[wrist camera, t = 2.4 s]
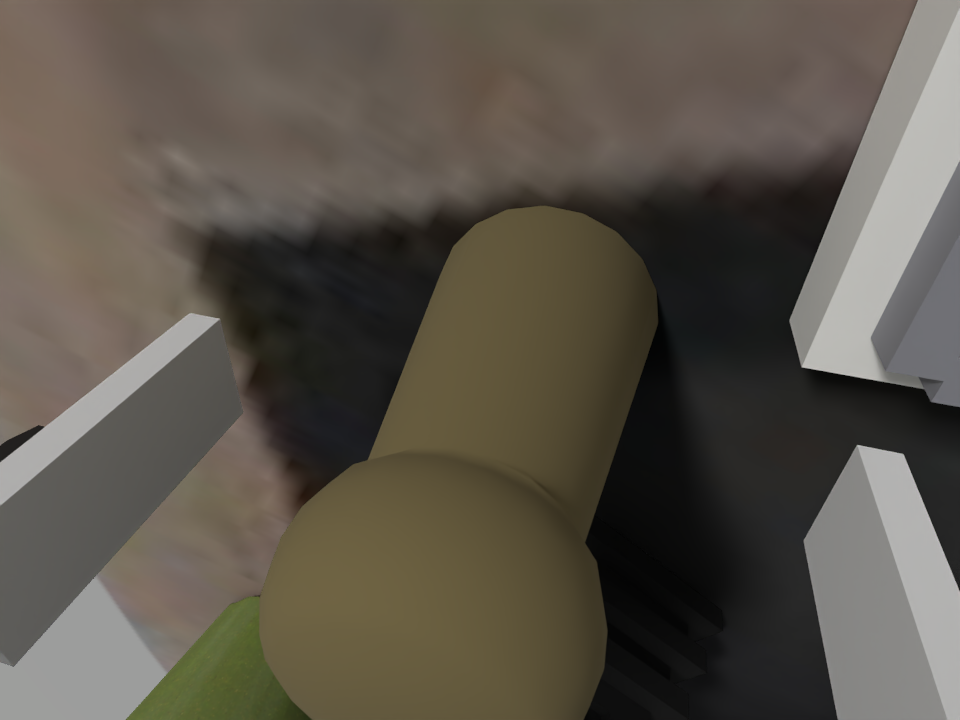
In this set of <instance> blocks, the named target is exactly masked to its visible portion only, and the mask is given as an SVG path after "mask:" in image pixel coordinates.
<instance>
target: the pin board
mask: <svg viewBox="0 0 960 720" xmlns="http://www.w3.org/2000/svg"><path fill="white" fill-rule="evenodd" d="M789 321H790V325H791V328H792V332H793V336H794V340H795V344H796V348H797V351H798V355H799V359H800V363H801V367H803V368H809V369H814V370H820V371H826V372H831V373H837V374H842V375H848V376H854V377H859V378H865V379H870V380H876V381H882V382H887V383H893V384H899V385H904V386H910V387H915V388H921V389H925V391H926V393H927V395H928V397H929V399H930V401H931V402H935V403H940V404H946V405H951V406H957V407H960V0H918V2H917V4H916V7H915V9H914V12H913V14H912V17H911V19H910V22H909V24H908V27H907V29H906V32H905V34H904V37H903V39H902V42H901V44H900V47H899V49H898V52H897V54H896V56H895V59H894V61H893V64H892V66H891V69H890V71H889V74H888V76H887V79H886V81H885V84H884V86H883V89H882V91H881V94H880V96H879V99H878V101H877V104H876V106H875V109H874V111H873V114H872V116H871V119H870V121H869V124H868V126H867V129H866V131H865V134H864V136H863V139H862V141H861V144H860V146H859V149H858V151H857V154H856V156H855V159H854V161H853V164H852V166H851V168H850V171H849V173H848V176H847V178H846V181H845V183H844V186H843V188H842V191H841V193H840V196H839V198H838V201H837V203H836V206H835V208H834V211H833V213H832V216H831V218H830V221H829V223H828V226H827V228H826V231H825V233H824V236H823V238H822V241H821V243H820V246H819V248H818V251H817V253H816V256H815V258H814V261H813V263H812V266H811V268H810V271H809V273H808V275H807V278H806V280H805V283H804V285H803V288H802V290H801V293H800V295H799V298H798V300H797V303H796V305H795V308H794V310H793V313H792V315H791V318H790V320H789Z"/></svg>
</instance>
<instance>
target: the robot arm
mask: <svg viewBox="0 0 960 720" xmlns="http://www.w3.org/2000/svg"><path fill="white" fill-rule="evenodd" d="M242 413H243V409H242V405H241V401H240V397H239V393H238V389H237V385H236V381H235V377H234V373H233V369H232V365H231V361H230V357H229V353H228V349H227V345H226V341H225V337H224V333H223V329H222V325H221V321H220V319H218V318H213V317H207V316H202V315H197V314H192V313H189V314H188V315H187V316H186V317H184V318H183V319H182V320H180V321H179V322H178V323H177V324H175V325H174V326H173V327H172V328H170V329H169V330H168V331H166V332H165V333H164V334H163V335H161V336H160V337H159V338H158V339H156V340H155V341H154V342H152V343H151V344H150V345H149V346H147V347H146V348H145V349H144V350H142V351H141V352H140V353H138V354H137V355H136V356H135V357H133V358H132V359H131V360H130V361H128V362H127V363H126V364H125V365H123V366H122V367H121V368H119V369H118V370H117V371H116V372H114V373H113V374H112V375H111V376H109V377H108V378H107V379H105V380H104V381H103V382H102V383H100V384H99V385H98V386H97V387H95V388H94V389H93V390H91V391H90V392H89V393H88V394H86V395H85V396H84V397H83V398H81V399H80V400H79V401H77V402H76V403H75V404H74V405H72V406H71V407H70V408H69V409H67V410H66V411H65V412H64V413H62V414H61V415H60V416H58V417H57V418H56V419H55V420H53V421H52V422H51V423H50V424H48V425H47V426H46V427H43V426H39V425H38V426H36V427H34V428H32V429H30V430H28V431H26V432H24V433H22V434H20V435H18V436H16V437H13V438H11V439H9V440H7V441H6V442H4V443H3V444H2V445H0V662H1V663H4V664H7V665H10V666H13V667H14V666H15V665H16V664H17V662H18V661H19V660H20V659H21V658H22V657H23V656H24V655H25V654H26V652H27V651H28V650H29V649H30V648H31V647H32V646H33V645H34V643H35V642H36V641H37V640H38V639H39V638H40V637H41V636H42V635H43V633H44V632H45V631H46V630H47V629H48V628H49V627H50V626H51V625H52V624H53V622H54V621H55V620H56V619H57V618H58V617H59V616H60V615H61V614H62V613H63V611H64V610H65V609H66V608H67V607H68V606H69V605H70V604H71V603H72V602H73V600H74V599H75V598H76V597H77V596H78V595H79V594H80V593H81V592H82V590H83V589H84V588H85V587H86V586H87V585H88V584H89V583H90V582H91V580H92V579H93V578H94V577H95V576H96V575H97V574H98V573H99V572H100V571H101V569H102V568H103V567H104V566H105V565H106V564H107V563H108V562H109V561H110V559H111V558H112V557H113V556H114V555H115V554H116V553H117V552H118V551H119V550H120V548H121V547H122V546H123V545H124V544H125V543H126V542H127V541H128V540H129V538H130V537H131V536H132V535H133V534H134V533H135V532H136V531H137V530H138V528H139V527H140V526H141V525H142V524H143V523H144V522H145V521H146V520H147V519H148V517H149V516H150V515H151V514H152V513H153V512H154V511H155V510H156V509H157V507H158V506H159V505H160V504H161V503H162V502H163V501H164V500H165V499H166V497H167V496H168V495H169V494H170V493H171V492H172V491H173V490H174V489H175V488H176V486H177V485H178V484H179V483H180V482H181V481H182V480H183V479H184V478H185V476H186V475H187V474H188V473H189V472H190V471H191V470H192V469H193V468H194V467H195V465H196V464H197V463H198V462H199V461H200V460H201V459H202V458H203V457H204V455H205V454H206V453H207V452H208V451H209V450H210V449H211V448H212V447H213V445H214V444H215V443H216V442H217V441H218V440H219V439H220V438H221V437H222V436H223V434H224V433H225V432H226V431H227V430H228V429H229V428H230V427H231V426H232V424H233V423H234V422H235V421H236V420H237V419H238V418H239V417H240V416H241V414H242ZM804 545H805V551H806V556H807V561H808V566H809V572H810V577H811V582H812V587H813V592H814V598H815V603H816V608H817V613H818V619H819V624H820V629H821V634H822V640H823V645H824V650H825V655H826V660H827V666H828V671H829V676H830V681H831V687H832V692H833V697H834V702H835V707H836V713H837V718H838V720H960V591H959V589H958V586H957V584H956V581H955V579H954V577H953V574H952V572H951V569H950V567H949V564H948V562H947V560H946V557H945V555H944V552H943V550H942V547H941V545H940V542H939V540H938V538H937V535H936V533H935V530H934V528H933V525H932V523H931V521H930V518H929V516H928V513H927V511H926V508H925V506H924V503H923V501H922V499H921V496H920V494H919V491H918V489H917V486H916V484H915V481H914V479H913V477H912V474H911V472H910V469H909V467H908V464H907V462H906V460H905V457H904V455H903V454H900V453H895V452H890V451H885V450H880V449H875V448H870V447H865V446H860V445H857V446H856V448H855V450H854V452H853V453H852V455H851V457H850V459H849V460H848V462H847V464H846V466H845V468H844V469H843V471H842V473H841V475H840V477H839V478H838V480H837V482H836V484H835V486H834V487H833V489H832V491H831V493H830V494H829V496H828V498H827V500H826V502H825V503H824V505H823V507H822V509H821V511H820V512H819V514H818V516H817V518H816V520H815V521H814V523H813V525H812V527H811V528H810V530H809V532H808V534H807V536H806V537H805V539H804Z"/></svg>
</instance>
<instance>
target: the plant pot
mask: <svg viewBox="0 0 960 720" xmlns="http://www.w3.org/2000/svg"><path fill="white" fill-rule="evenodd" d="M259 598H260V597H247V598H245V599H243V600H241V601H239V602H236V603H232V604H230V605H229V606H228V607H227V608H226V609H225V610H224V611H223V612H222V614H221V615H220V616H219V617H218V618H217V619H216V620H215V621H214V622H213V623H212V625H211V626H210V627H209V628H208V629H207V630H206V631H205V632H204V634H203V635H202V636H201V637H200V638H199V639H198V640H197V641H196V642H195V643H194V645H193V646H192V647H191V648H190V649H189V650H188V651H187V652H186V654H185V655H184V656H183V657H182V658H181V659H180V660H179V661H178V662H177V664H176V665H175V666H174V667H173V668H172V669H171V670H170V671H169V672H168V674H167V675H166V676H165V677H164V678H163V679H162V680H161V681H160V682H159V684H158V685H157V686H156V687H155V688H154V689H153V690H152V691H151V693H150V694H149V695H148V696H147V697H146V698H145V699H144V700H143V701H142V703H141V704H140V705H139V706H138V707H137V708H136V709H135V710H134V711H133V712H132V713H131V714H130V716H129V717H128V718H127V719H126V720H312V719H311V718H310V717H309V716H308V715H307V714H305V713H304V712H303V711H302V710H301V709H300V708H299V707H298V706H297V705H296V704H295V703H294V702H292V701H291V699H290V698H289V696H288V695H287V693H286V692H285V690H284V689H283V687H282V686H281V684H280V683H279V681H278V680H277V678H276V677H275V675H274V674H273V672H272V670H271V669H270V667H269V665H268V664H267V662H266V660H265V658H264V654H263V649H262V645H261V640H260V636H259Z"/></svg>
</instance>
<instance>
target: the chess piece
mask: <svg viewBox="0 0 960 720" xmlns="http://www.w3.org/2000/svg"><path fill="white" fill-rule="evenodd" d="M585 544H586V545H587V547H588V549H589V550H590V552H591V553H592V555H593V557H594V558H595V560H596V561H597V567H598V573H599V579H600V585H601V592H602V598H603V604H604V611H605V617H606V624H607V630H608V631H607V642H606V653H605V664H604V671H603V673H602V676H601V678H600V681H599V684H598V686H597V689H596V691H595V694H594V697H593V699H592V702H591V704H590V707H589V709H588V711H587V713H586V715H585V718H584V720H689V706H688V693H686V692H685V691H683V690H682V689H681V688H679V687H678V686H676V685H675V683H678V682H681V681H684V680H687V679H690V678H693V677H696V676H699V675H702V674H705V673H707V668H706V650H705V649H704V648H702V647H701V646H700V645H698V644H697V643H695V642H696V641H698V640H701V639H704V638H706V637H709V636H712V635H714V634H717V633H720V632H722V631H723V624H722V610H720V609H719V608H717V607H716V606H715V605H713V604H712V603H711V602H709V601H708V600H707V599H705V598H704V597H703V596H701V595H700V594H699V593H697V592H696V591H695V590H693V589H692V588H691V587H689V586H688V585H687V584H685V583H684V582H683V581H681V580H680V579H679V578H677V577H676V576H675V575H673V574H672V573H671V572H669V571H668V570H667V569H665V568H664V567H663V566H661V565H660V564H659V563H657V562H656V561H655V560H653V559H652V558H651V557H649V556H648V555H647V554H645V553H644V552H642V551H641V550H640V549H638V548H637V547H636V546H634V545H633V544H632V543H630V542H629V541H628V540H626V539H625V538H624V537H622V536H621V535H620V534H618V533H617V532H616V531H614V530H613V529H612V528H610V527H609V526H608V525H606V524H605V523H604V522H602V521H601V520H600V519H598V518H597V517H596V516H594V517H593V520H592V523H591V526H590V529H589V532H588V535H587V538H586V541H585Z"/></svg>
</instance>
